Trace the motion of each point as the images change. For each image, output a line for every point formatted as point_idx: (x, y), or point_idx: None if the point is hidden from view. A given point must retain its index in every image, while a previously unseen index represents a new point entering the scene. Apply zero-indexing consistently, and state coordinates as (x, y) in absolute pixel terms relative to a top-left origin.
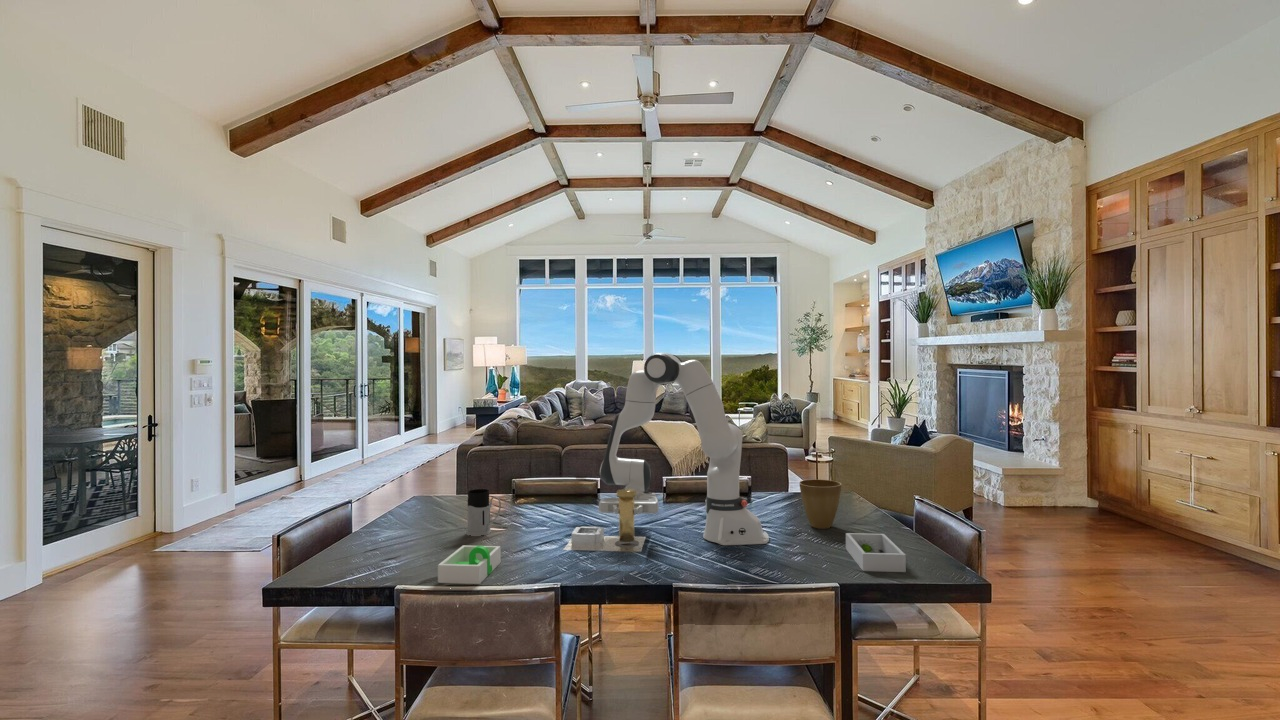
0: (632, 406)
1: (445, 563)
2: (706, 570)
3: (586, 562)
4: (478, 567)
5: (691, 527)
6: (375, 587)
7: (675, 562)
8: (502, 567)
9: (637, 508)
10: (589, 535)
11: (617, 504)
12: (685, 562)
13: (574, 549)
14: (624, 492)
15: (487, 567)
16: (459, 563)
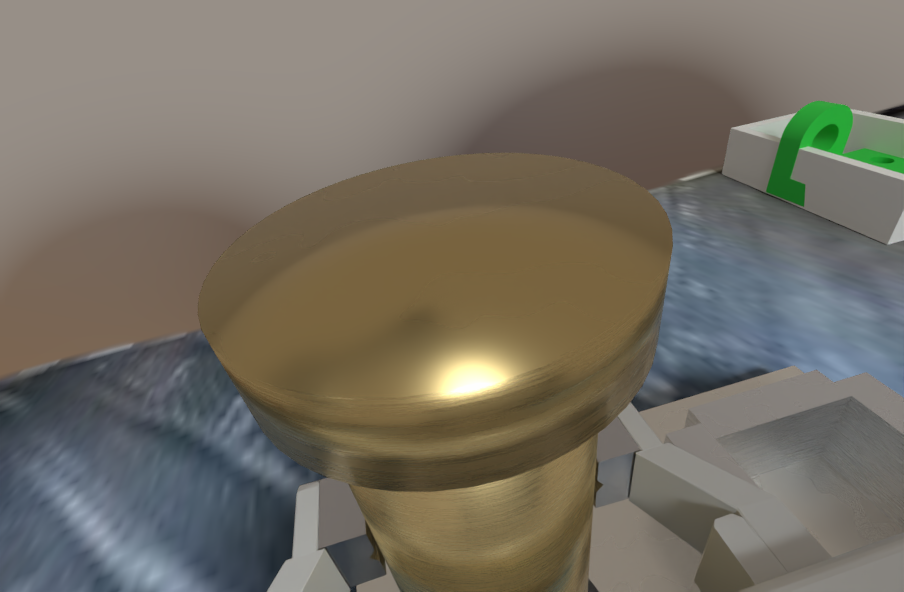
0: None
1: None
2: (54, 449)
3: None
4: (732, 131)
5: None
6: (894, 115)
7: (169, 492)
8: (817, 229)
9: (307, 502)
10: (722, 400)
11: (757, 585)
12: (113, 511)
13: (744, 388)
14: (429, 179)
15: (773, 169)
16: (902, 163)
